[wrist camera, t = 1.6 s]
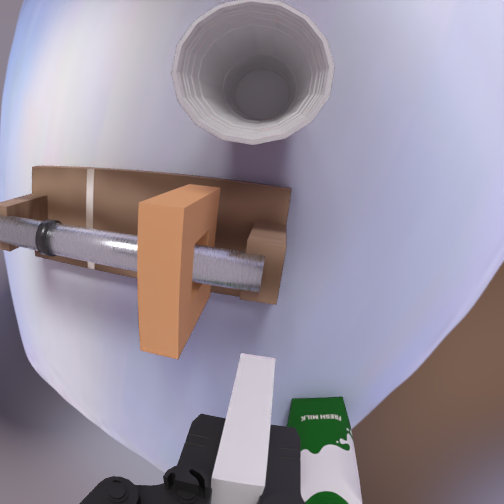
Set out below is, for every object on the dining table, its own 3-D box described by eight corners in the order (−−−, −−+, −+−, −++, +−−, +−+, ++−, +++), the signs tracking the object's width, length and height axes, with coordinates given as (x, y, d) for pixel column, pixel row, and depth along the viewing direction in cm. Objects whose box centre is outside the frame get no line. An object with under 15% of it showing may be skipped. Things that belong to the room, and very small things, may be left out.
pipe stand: (39, 165, 33) (-10, 174, 25) (291, 188, 32) (293, 201, 23) (41, 252, 37) (-1, 275, 29) (273, 295, 35) (269, 340, 27)
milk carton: (349, 391, 39) (372, 518, 20) (341, 432, 41) (354, 545, 22) (285, 393, 40) (279, 524, 21) (284, 434, 42) (277, 549, 23)
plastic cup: (235, 164, 32) (207, 171, 20) (194, 74, 29) (149, 39, 18) (334, 125, 29) (362, 109, 18) (290, 34, 27) (292, -22, 15)
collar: (189, 184, 29) (138, 202, 19) (220, 187, 29) (184, 208, 18) (182, 291, 32) (140, 350, 22) (210, 296, 32) (178, 359, 22)
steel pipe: (9, 209, 28) (-12, 216, 25) (266, 246, 26) (264, 260, 23) (11, 238, 29) (-9, 247, 26) (260, 285, 27) (257, 303, 24)
